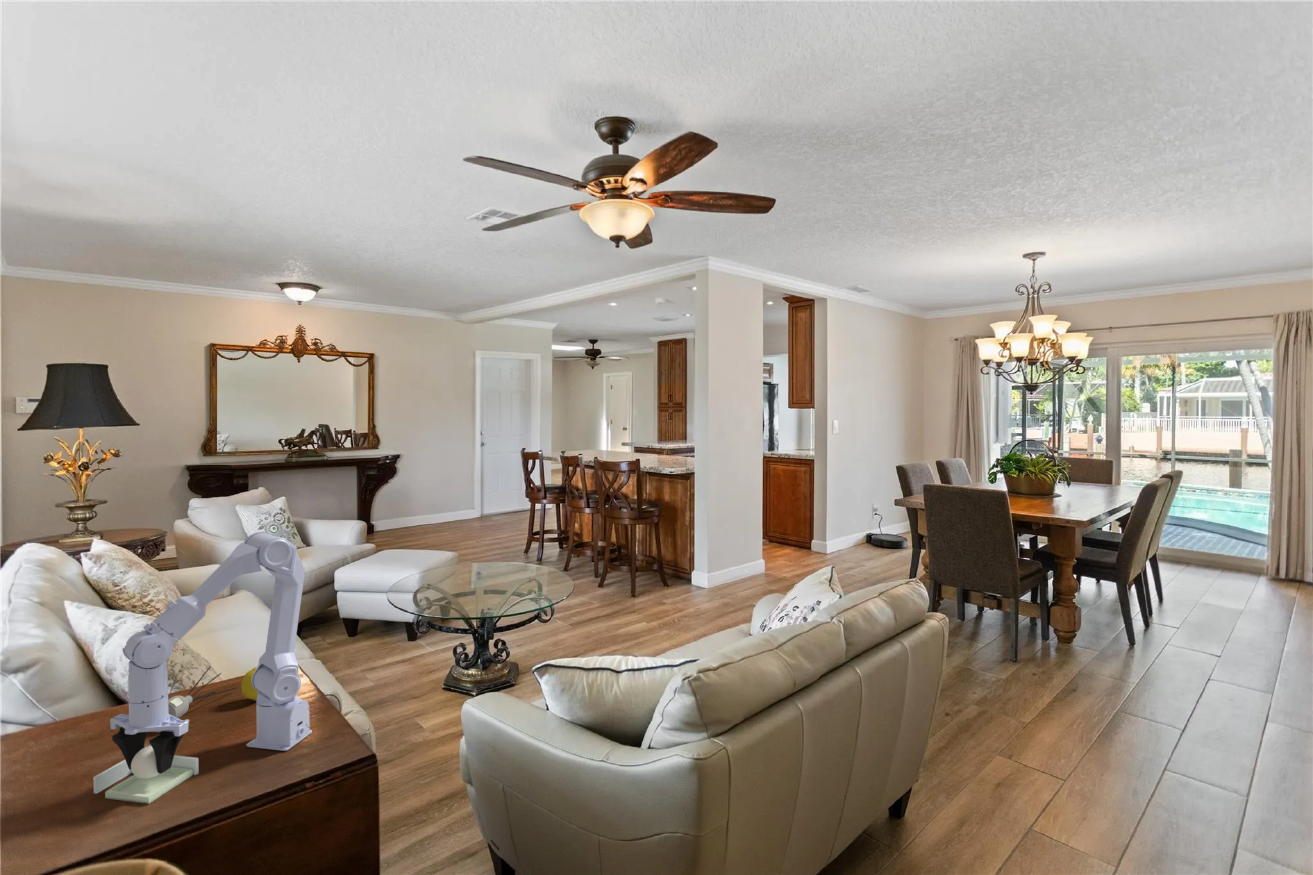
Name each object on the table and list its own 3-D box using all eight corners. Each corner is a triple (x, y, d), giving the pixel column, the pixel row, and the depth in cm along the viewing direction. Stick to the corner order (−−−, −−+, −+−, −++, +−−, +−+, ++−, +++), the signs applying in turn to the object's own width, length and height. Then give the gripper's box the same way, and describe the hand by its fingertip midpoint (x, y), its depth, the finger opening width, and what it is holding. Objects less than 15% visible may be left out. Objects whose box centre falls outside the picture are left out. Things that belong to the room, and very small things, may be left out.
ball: (176, 769, 121) (177, 740, 121) (150, 786, 116) (150, 756, 115) (150, 766, 122) (150, 737, 121) (122, 783, 116) (122, 753, 116)
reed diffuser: (154, 693, 138) (218, 656, 158) (134, 716, 138) (201, 677, 158) (190, 723, 138) (250, 683, 158) (171, 747, 138) (233, 704, 158)
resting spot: (192, 775, 122) (192, 769, 122) (148, 803, 114) (148, 797, 113) (151, 770, 124) (151, 764, 124) (105, 798, 115) (105, 791, 115)
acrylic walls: (198, 773, 123) (198, 757, 123) (156, 801, 114) (155, 784, 114) (140, 766, 125) (139, 751, 125) (93, 793, 116) (93, 777, 116)
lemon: (259, 706, 151) (259, 672, 150) (236, 705, 151) (235, 672, 150) (273, 695, 156) (273, 663, 156) (251, 694, 156) (251, 662, 156)
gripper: (92, 703, 115) (94, 776, 116) (163, 710, 113) (164, 785, 113) (130, 686, 122) (132, 755, 123) (197, 692, 120) (198, 763, 120)
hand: (150, 768), depth 118 cm, fingers closed on ball, 6 cm apart
